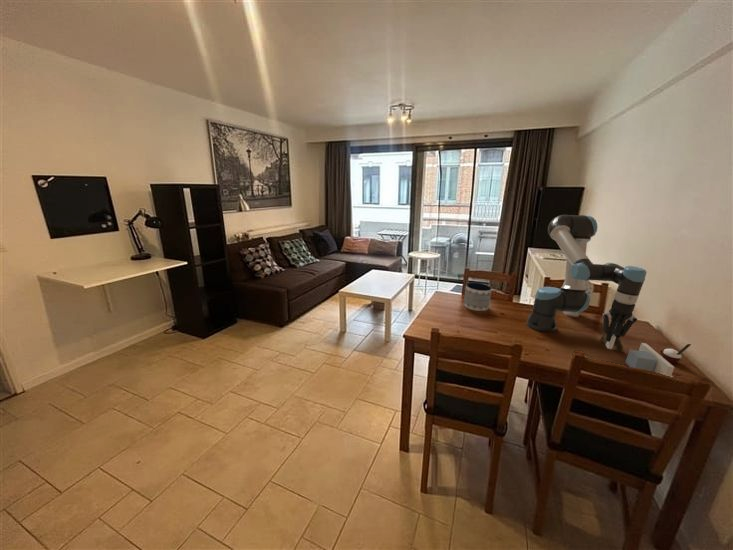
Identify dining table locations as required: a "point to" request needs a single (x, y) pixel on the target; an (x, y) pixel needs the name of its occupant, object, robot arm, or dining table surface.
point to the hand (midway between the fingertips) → (608, 347)
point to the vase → (589, 290)
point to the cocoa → (673, 354)
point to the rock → (617, 345)
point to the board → (658, 361)
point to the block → (641, 360)
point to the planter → (477, 296)
